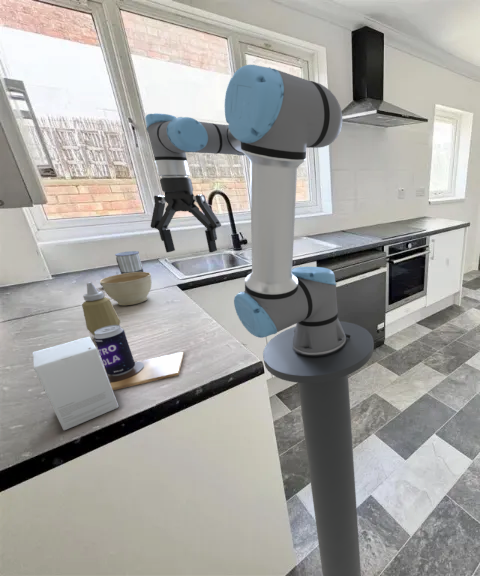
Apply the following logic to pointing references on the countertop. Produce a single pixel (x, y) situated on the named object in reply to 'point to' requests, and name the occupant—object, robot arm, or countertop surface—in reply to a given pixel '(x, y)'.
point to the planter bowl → (128, 287)
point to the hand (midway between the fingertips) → (191, 251)
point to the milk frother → (129, 262)
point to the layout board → (148, 371)
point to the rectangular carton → (74, 381)
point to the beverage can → (114, 350)
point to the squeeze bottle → (98, 310)
